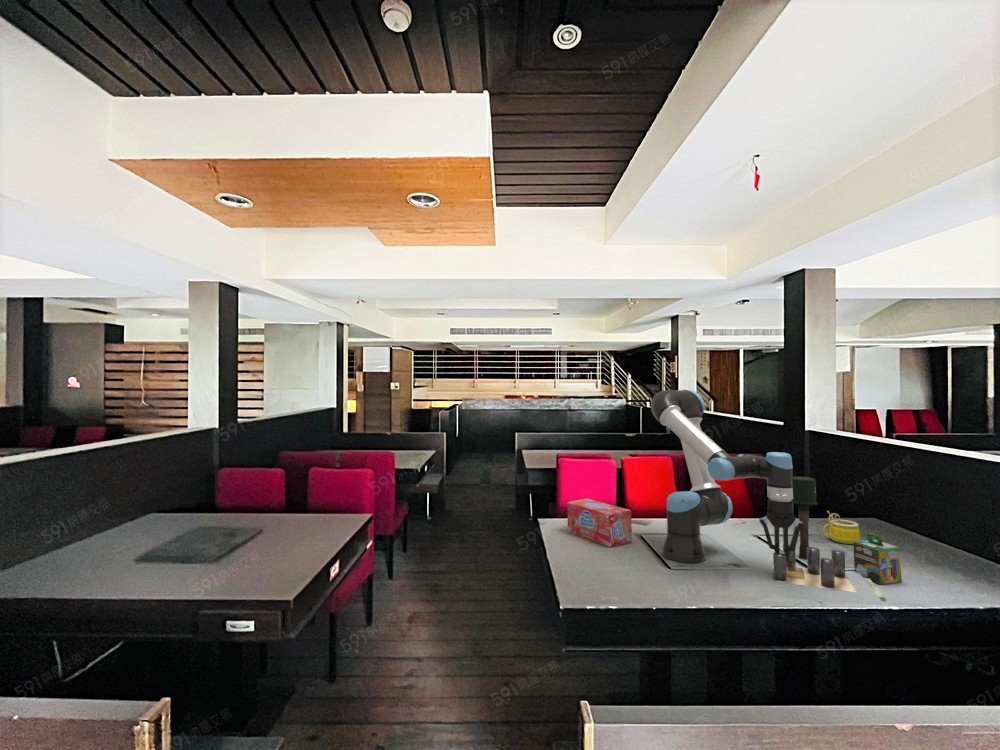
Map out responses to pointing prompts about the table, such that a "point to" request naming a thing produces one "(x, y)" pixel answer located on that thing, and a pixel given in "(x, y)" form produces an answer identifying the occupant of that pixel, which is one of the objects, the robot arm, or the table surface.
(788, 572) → the tan wooden tile
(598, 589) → the table surface
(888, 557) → the chalk box
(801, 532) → the potato masher grenade
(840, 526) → the mug
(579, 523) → the box
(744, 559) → the table surface
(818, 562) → the spacers
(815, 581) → the board
